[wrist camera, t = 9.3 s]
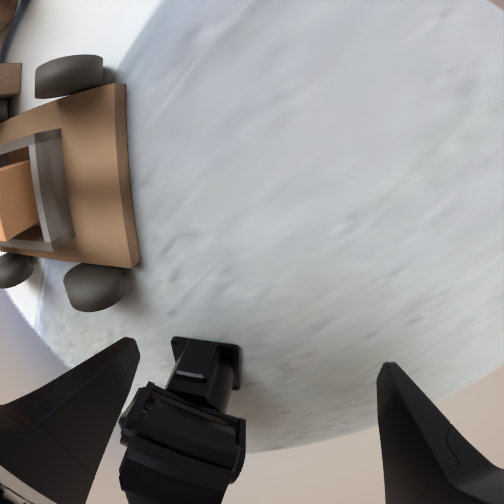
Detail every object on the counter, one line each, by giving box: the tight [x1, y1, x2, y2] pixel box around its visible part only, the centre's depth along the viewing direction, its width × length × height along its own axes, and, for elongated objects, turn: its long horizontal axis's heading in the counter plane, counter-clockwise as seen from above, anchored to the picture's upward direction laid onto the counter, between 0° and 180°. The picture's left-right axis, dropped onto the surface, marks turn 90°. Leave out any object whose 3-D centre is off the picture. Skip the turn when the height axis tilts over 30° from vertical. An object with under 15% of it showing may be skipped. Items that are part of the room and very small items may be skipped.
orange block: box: [0, 159, 40, 241], centre depth 17 cm, size 5×5×6 cm
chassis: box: [0, 55, 140, 312], centre depth 18 cm, size 18×20×6 cm
